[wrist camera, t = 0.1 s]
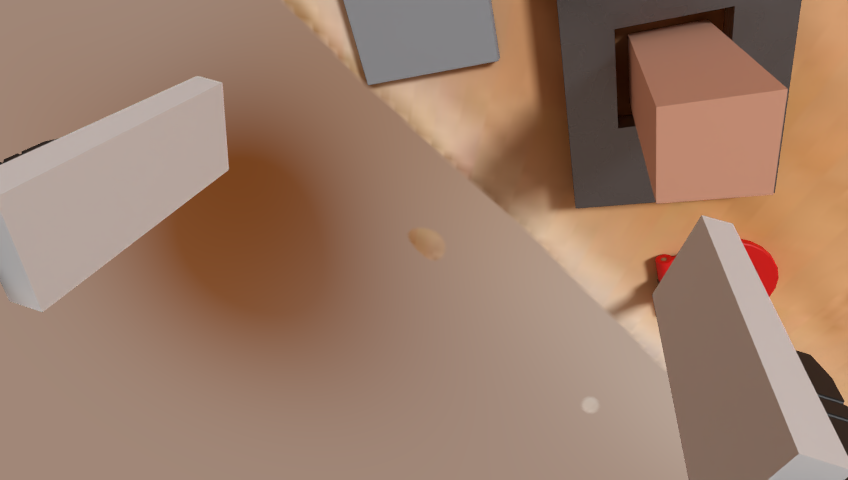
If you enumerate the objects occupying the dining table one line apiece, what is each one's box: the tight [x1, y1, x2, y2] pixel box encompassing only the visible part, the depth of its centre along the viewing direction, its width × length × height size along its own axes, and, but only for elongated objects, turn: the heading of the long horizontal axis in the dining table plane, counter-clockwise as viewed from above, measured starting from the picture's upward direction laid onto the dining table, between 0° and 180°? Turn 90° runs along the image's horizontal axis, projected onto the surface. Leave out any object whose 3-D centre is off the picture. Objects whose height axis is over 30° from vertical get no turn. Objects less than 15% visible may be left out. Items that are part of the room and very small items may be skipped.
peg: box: [628, 19, 788, 204], centre depth 29 cm, size 5×5×16 cm
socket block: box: [557, 0, 802, 208], centre depth 34 cm, size 20×14×2 cm
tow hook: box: [655, 239, 778, 297], centre depth 39 cm, size 8×13×9 cm
